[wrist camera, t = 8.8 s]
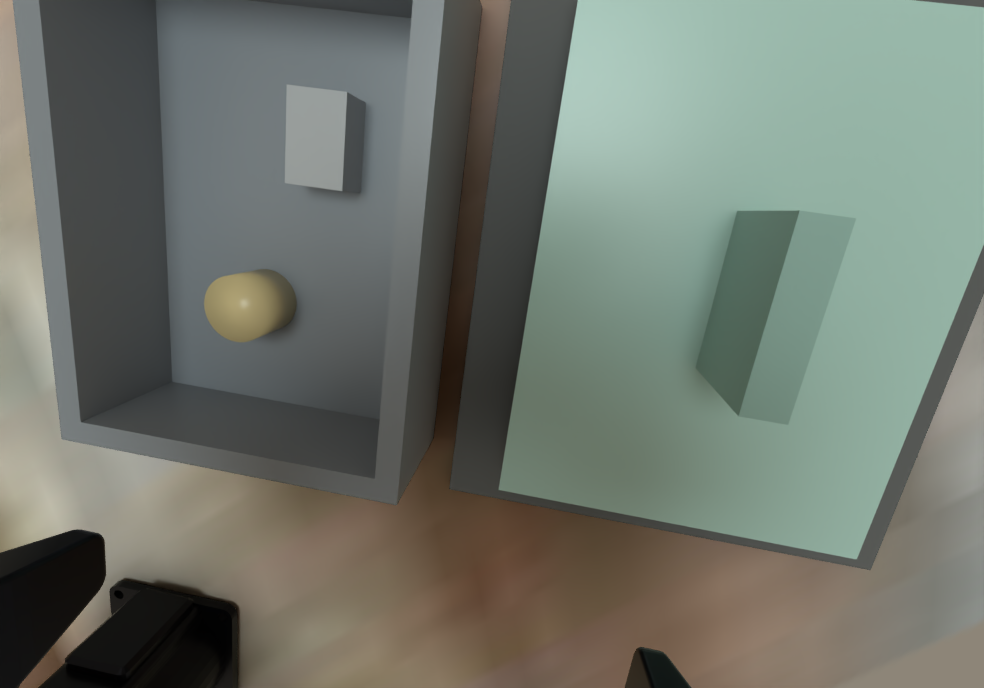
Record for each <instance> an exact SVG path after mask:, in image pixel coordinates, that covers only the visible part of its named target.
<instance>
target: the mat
mask: <svg viewBox="0 0 984 688" xmlns="http://www.w3.org/2000/svg"><path fill="white" fill-rule="evenodd" d="M916 1H925V2H935V3H945V4H955V5H965V6H974V7H984V0H916ZM577 2H578V0H511V6H510V14H509V22H508V30H507V37H506V45H505V53H504V61H503V69H502V77H501V85H500V93H499V101H498V109H497V116H496V124H495V132H494V140H493V148H492V156H491V164H490V172H489V180H488V188H487V196H486V203H485V211H484V219H483V227H482V235H481V243H480V251H479V259H478V267H477V275H476V282H475V290H474V298H473V306H472V314H471V322H470V330H469V338H468V346H467V354H466V361H465V369H464V377H463V385H462V393H461V401H460V409H459V417H458V425H457V433H456V441H455V448H454V456H453V464H452V472H451V480H450V488H449V489H451V490H456V491H462V492H467V493H472V494H477V495H482V496H488V497H493V498H498V499H503V500H508V501H514V502H519V503H524V504H529V505H534V506H540V507H545V508H550V509H555V510H560V511H566V512H571V513H576V514H581V515H586V516H592V517H597V518H602V519H607V520H612V521H618V522H623V523H628V524H633V525H638V526H644V527H649V528H654V529H659V530H664V531H670V532H675V533H680V534H685V535H690V536H696V537H701V538H706V539H711V540H716V541H722V542H727V543H732V544H737V545H742V546H748V547H753V548H758V549H763V550H768V551H774V552H779V553H784V554H789V555H794V556H800V557H805V558H810V559H815V560H820V561H826V562H831V563H836V564H841V565H846V566H852V567H857V568H862V569H867V570H871V568H872V565H873V563H874V560H875V558H876V555H877V553H878V550H879V548H880V546H881V543H882V541H883V538H884V536H885V533H886V531H887V528H888V526H889V524H890V521H891V519H892V516H893V514H894V511H895V509H896V507H897V504H898V502H899V499H900V497H901V494H902V492H903V489H904V487H905V485H906V482H907V480H908V477H909V475H910V472H911V470H912V467H913V465H914V463H915V460H916V458H917V455H918V453H919V450H920V448H921V446H922V443H923V441H924V438H925V436H926V433H927V431H928V428H929V426H930V424H931V421H932V419H933V416H934V414H935V411H936V409H937V406H938V404H939V402H940V399H941V397H942V394H943V392H944V389H945V387H946V384H947V382H948V380H949V377H950V375H951V372H952V370H953V367H954V365H955V363H956V360H957V358H958V355H959V353H960V350H961V348H962V345H963V343H964V341H965V338H966V336H967V333H968V331H969V328H970V326H971V323H972V321H973V319H974V316H975V314H976V311H977V309H978V306H979V304H980V302H981V299H982V297H983V294H984V245H983V248H982V250H981V253H980V255H979V258H978V260H977V263H976V265H975V268H974V270H973V272H972V275H971V277H970V280H969V282H968V285H967V287H966V290H965V292H964V295H963V297H962V300H961V302H960V305H959V307H958V310H957V312H956V315H955V317H954V320H953V322H952V325H951V327H950V329H949V332H948V334H947V337H946V339H945V342H944V344H943V347H942V349H941V352H940V354H939V357H938V359H937V362H936V364H935V367H934V369H933V372H932V374H931V377H930V379H929V382H928V384H927V386H926V389H925V391H924V394H923V396H922V399H921V401H920V404H919V406H918V409H917V411H916V414H915V416H914V419H913V421H912V424H911V426H910V429H909V431H908V434H907V436H906V439H905V441H904V443H903V446H902V448H901V451H900V453H899V456H898V458H897V461H896V463H895V466H894V468H893V471H892V473H891V476H890V478H889V481H888V483H887V486H886V488H885V491H884V493H883V496H882V498H881V500H880V503H879V505H878V508H877V510H876V513H875V515H874V518H873V520H872V523H871V525H870V528H869V530H868V533H867V535H866V538H865V540H864V543H863V545H862V548H861V550H860V552H859V555H858V557H857V559H852V558H846V557H841V556H836V555H831V554H826V553H821V552H816V551H810V550H805V549H800V548H795V547H790V546H785V545H780V544H774V543H769V542H764V541H759V540H754V539H749V538H744V537H738V536H733V535H728V534H723V533H718V532H713V531H708V530H702V529H697V528H692V527H687V526H682V525H677V524H672V523H666V522H661V521H656V520H651V519H646V518H641V517H636V516H631V515H625V514H620V513H615V512H610V511H605V510H600V509H595V508H589V507H584V506H579V505H574V504H569V503H564V502H559V501H553V500H548V499H543V498H538V497H533V496H528V495H523V494H517V493H512V492H507V491H502V490H499V484H500V478H501V471H502V465H503V459H504V453H505V447H506V441H507V434H508V428H509V422H510V416H511V410H512V404H513V397H514V391H515V385H516V379H517V373H518V367H519V360H520V354H521V348H522V342H523V336H524V329H525V323H526V317H527V311H528V305H529V299H530V292H531V286H532V280H533V274H534V268H535V262H536V255H537V249H538V243H539V237H540V231H541V225H542V218H543V212H544V206H545V200H546V194H547V188H548V181H549V175H550V169H551V163H552V157H553V151H554V144H555V138H556V132H557V126H558V120H559V114H560V107H561V101H562V95H563V89H564V83H565V77H566V70H567V64H568V58H569V52H570V46H571V40H572V33H573V27H574V21H575V15H576V9H577Z"/></svg>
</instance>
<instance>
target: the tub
mask: <svg viewBox="0 0 984 688" xmlns="http://www.w3.org/2000/svg"><path fill="white" fill-rule="evenodd" d="M13 7H14V16H15V25H16V34H17V43H18V52H19V61H20V70H21V79H22V88H23V97H24V106H25V115H26V124H27V133H28V142H29V151H30V160H31V169H32V178H33V187H34V196H35V204H36V213H37V222H38V231H39V240H40V249H41V258H42V267H43V276H44V285H45V294H46V303H47V312H48V321H49V330H50V339H51V348H52V357H53V366H54V375H55V384H56V393H57V402H58V410H59V419H60V428H61V437H62V439H63V440H68V441H73V442H78V443H83V444H89V445H94V446H99V447H104V448H109V449H114V450H119V451H124V452H129V453H134V454H139V455H144V456H149V457H155V458H160V459H165V460H170V461H175V462H180V463H185V464H190V465H195V466H200V467H205V468H210V469H215V470H220V471H226V472H231V473H236V474H241V475H246V476H251V477H256V478H261V479H266V480H271V481H276V482H281V483H286V484H292V485H297V486H302V487H307V488H312V489H317V490H322V491H327V492H332V493H337V494H342V495H347V496H352V497H358V498H363V499H368V500H373V501H378V502H383V503H388V504H393V505H397V504H398V502H399V500H400V498H401V496H402V495H403V493H404V491H405V489H406V487H407V486H408V484H409V482H410V480H411V478H412V476H413V475H414V473H415V471H416V469H417V467H418V465H419V464H420V462H421V460H422V458H423V456H424V454H425V453H426V451H427V449H428V447H429V445H430V444H431V442H432V440H433V438H434V429H435V420H436V411H437V402H438V393H439V385H440V376H441V367H442V358H443V349H444V340H445V331H446V323H447V314H448V305H449V296H450V287H451V278H452V270H453V261H454V252H455V243H456V234H457V225H458V216H459V208H460V199H461V190H462V181H463V172H464V163H465V155H466V146H467V137H468V128H469V119H470V110H471V101H472V93H473V84H474V75H475V66H476V57H477V48H478V39H479V31H480V22H481V13H482V5H481V2H480V0H13Z"/></svg>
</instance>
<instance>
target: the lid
mask: <svg viewBox="0 0 984 688" xmlns="http://www.w3.org/2000/svg"><path fill="white" fill-rule="evenodd" d="M983 245H984V7H974V6H965V5H955V4H945V3H935V2H925V1H916V0H578V2H577V9H576V15H575V21H574V27H573V33H572V40H571V46H570V52H569V58H568V64H567V70H566V77H565V83H564V89H563V95H562V101H561V107H560V114H559V120H558V126H557V132H556V138H555V144H554V151H553V157H552V163H551V169H550V175H549V181H548V188H547V194H546V200H545V206H544V212H543V218H542V225H541V231H540V237H539V243H538V249H537V255H536V262H535V268H534V274H533V280H532V286H531V292H530V299H529V305H528V311H527V317H526V323H525V329H524V336H523V342H522V348H521V354H520V360H519V367H518V373H517V379H516V385H515V391H514V397H513V404H512V410H511V416H510V422H509V428H508V434H507V441H506V447H505V453H504V459H503V465H502V471H501V478H500V484H499V490H502V491H507V492H512V493H517V494H523V495H528V496H533V497H538V498H543V499H548V500H553V501H559V502H564V503H569V504H574V505H579V506H584V507H589V508H595V509H600V510H605V511H610V512H615V513H620V514H625V515H631V516H636V517H641V518H646V519H651V520H656V521H661V522H666V523H672V524H677V525H682V526H687V527H692V528H697V529H702V530H708V531H713V532H718V533H723V534H728V535H733V536H738V537H744V538H749V539H754V540H759V541H764V542H769V543H774V544H780V545H785V546H790V547H795V548H800V549H805V550H810V551H816V552H821V553H826V554H831V555H836V556H841V557H846V558H852V559H857V557H858V555H859V552H860V550H861V548H862V545H863V543H864V540H865V538H866V535H867V533H868V530H869V528H870V525H871V523H872V520H873V518H874V515H875V513H876V510H877V508H878V505H879V503H880V500H881V498H882V496H883V493H884V491H885V488H886V486H887V483H888V481H889V478H890V476H891V473H892V471H893V468H894V466H895V463H896V461H897V458H898V456H899V453H900V451H901V448H902V446H903V443H904V441H905V439H906V436H907V434H908V431H909V429H910V426H911V424H912V421H913V419H914V416H915V414H916V411H917V409H918V406H919V404H920V401H921V399H922V396H923V394H924V391H925V389H926V386H927V384H928V382H929V379H930V377H931V374H932V372H933V369H934V367H935V364H936V362H937V359H938V357H939V354H940V352H941V349H942V347H943V344H944V342H945V339H946V337H947V334H948V332H949V329H950V327H951V325H952V322H953V320H954V317H955V315H956V312H957V310H958V307H959V305H960V302H961V300H962V297H963V295H964V292H965V290H966V287H967V285H968V282H969V280H970V277H971V275H972V272H973V270H974V268H975V265H976V263H977V260H978V258H979V255H980V253H981V250H982V248H983Z"/></svg>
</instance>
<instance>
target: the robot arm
mask: <svg viewBox="0 0 984 688" xmlns="http://www.w3.org/2000/svg"><path fill="white" fill-rule="evenodd" d="M105 577H106V561H105V542H104V538H103V537H102V535H100V534H99V533H95V532H90V531H85V530H72V531H68V532H65V533H62V534H59V535H56V536H52V537H49V538H46V539H43V540H40V541H36V542H33V543H30V544H27V545H24V546H20V547H17V548H14V549H11V550H8V551H5V552H1V553H0V688H18V687H19V686H20V684H21V683H22V681H23V680H24V679H25V678H26V677H27V676H28V675H29V673H30V672H31V671H32V670H33V669H34V668H35V667H36V665H37V664H38V663H39V662H40V661H41V659H42V658H43V657H44V656H45V655H46V653H47V652H48V651H49V650H50V649H51V647H52V646H53V645H54V644H55V643H56V641H57V640H58V639H59V638H60V637H61V636H62V634H63V633H64V632H65V631H66V630H67V628H68V627H69V626H70V625H71V624H72V622H73V621H74V620H75V619H76V618H77V616H78V615H79V614H80V613H81V612H82V610H83V609H84V608H85V607H86V606H87V604H88V603H89V602H90V601H91V600H92V599H93V597H94V596H95V595H96V594H97V593H98V591H99V590H100V588H101V587H102V585H103V583H104V580H105ZM110 602H111V613H112V616H111V617H110V618H109V619H107V620H106V621H105V622H104V623H103V624H102V625H101V626H100V627H99V628H98V629H96V630H95V631H94V632H93V633H92V634H91V635H90V636H89V637H88V638H87V639H85V640H84V641H83V642H82V643H81V644H80V645H79V646H78V647H77V648H75V649H74V650H73V651H72V652H71V653H70V654H69V655H68V656H67V657H66V658H65V663H64V664H63V665H62V666H61V667H60V668H59V669H58V670H57V671H56V672H55V673H54V674H52V675H51V676H50V677H49V678H48V679H47V680H46V681H45V682H44V683H43V684H42V685H40V686H39V687H38V688H238V674H237V611H236V609H235V607H234V606H232V605H231V604H228V603H224V602H220V601H215V600H211V599H206V598H202V597H197V596H193V595H188V594H184V593H179V592H175V591H170V590H166V589H161V588H157V587H152V586H148V585H143V584H139V583H134V582H129V581H125V580H121V581H119V582H117V583H116V584H115V585H114V586H113V587H112V588H111V589H110ZM625 688H691V687H690V685H689V684H688V683H687V681H686V680H685V679H684V677H683V676H682V675H681V673H680V672H679V671H678V670H677V668H676V667H675V666H674V664H673V663H672V662H671V660H670V659H669V658H668V657H667V655H666V654H664V653H663V652H661V651H658V650H653V649H648V648H644V647H639V648H637V649H636V651H635V653H634V656H633V659H632V663H631V667H630V670H629V674H628V677H627V681H626V685H625Z"/></svg>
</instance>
